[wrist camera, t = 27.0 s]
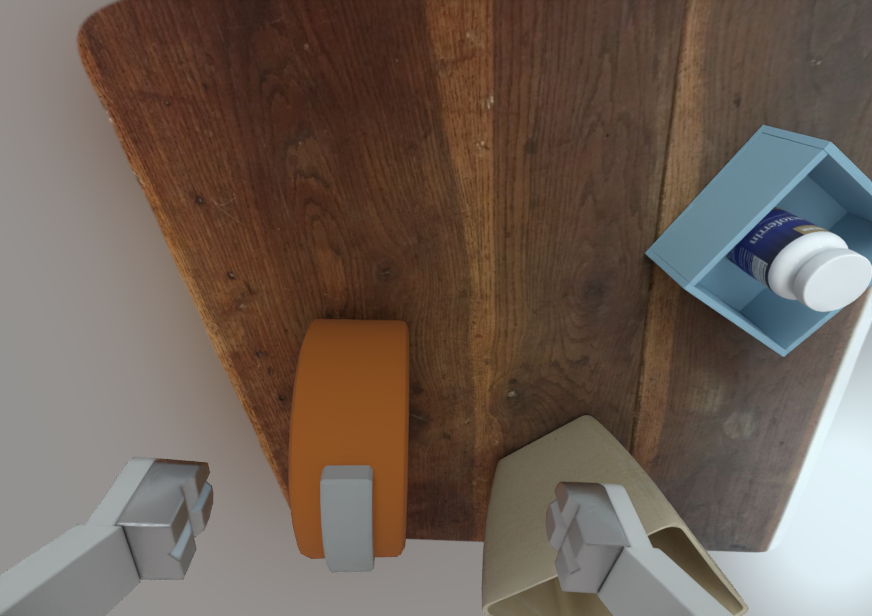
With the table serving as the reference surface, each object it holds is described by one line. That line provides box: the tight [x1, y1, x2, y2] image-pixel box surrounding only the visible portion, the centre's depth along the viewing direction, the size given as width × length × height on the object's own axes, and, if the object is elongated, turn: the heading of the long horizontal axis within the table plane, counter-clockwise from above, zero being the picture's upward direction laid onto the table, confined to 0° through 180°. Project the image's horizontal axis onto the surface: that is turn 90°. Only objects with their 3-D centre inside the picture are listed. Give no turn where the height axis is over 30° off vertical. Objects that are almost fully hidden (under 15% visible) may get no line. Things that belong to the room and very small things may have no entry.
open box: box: [645, 125, 872, 357], centre depth 39 cm, size 13×13×7 cm
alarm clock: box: [289, 319, 409, 572], centre depth 42 cm, size 23×9×17 cm, turn 177°
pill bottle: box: [725, 206, 872, 312], centre depth 37 cm, size 6×6×10 cm
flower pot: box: [482, 415, 748, 616], centre depth 49 cm, size 19×19×17 cm
